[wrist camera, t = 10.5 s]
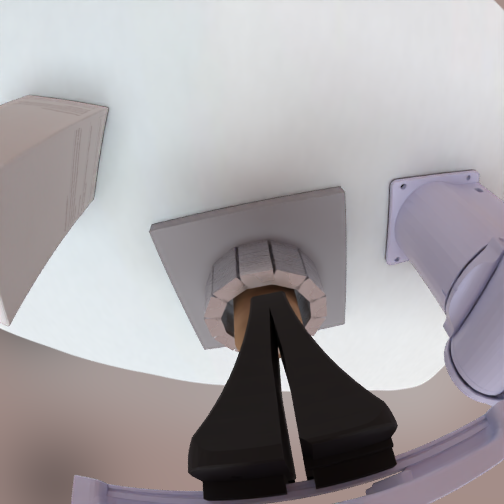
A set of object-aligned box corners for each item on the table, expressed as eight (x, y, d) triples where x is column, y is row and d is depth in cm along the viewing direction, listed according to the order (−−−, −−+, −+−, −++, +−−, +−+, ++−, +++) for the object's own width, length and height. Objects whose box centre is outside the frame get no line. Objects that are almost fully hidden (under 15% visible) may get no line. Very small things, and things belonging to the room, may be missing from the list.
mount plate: (340, 186, 21) (345, 192, 20) (341, 316, 29) (344, 323, 28) (151, 224, 22) (149, 231, 21) (204, 341, 30) (204, 349, 29)
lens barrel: (312, 230, 22) (324, 259, 19) (318, 312, 27) (327, 342, 24) (193, 253, 22) (189, 285, 19) (223, 329, 27) (223, 360, 24)
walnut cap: (288, 257, 23) (303, 312, 18) (294, 301, 26) (307, 354, 21) (226, 269, 23) (227, 326, 19) (239, 311, 26) (242, 366, 21)
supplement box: (27, 92, 14) (-109, 156, 4) (112, 106, 16) (-19, 182, 6) (19, 182, 18) (-80, 284, 8) (94, 202, 20) (10, 333, 10)
